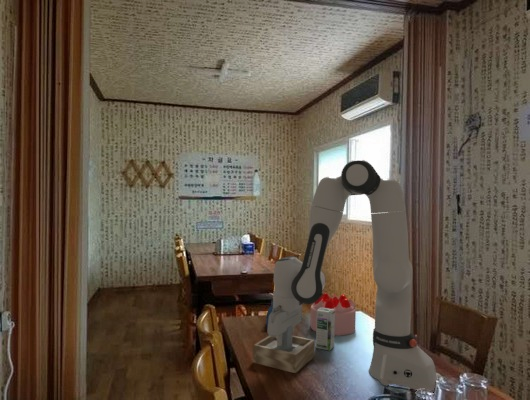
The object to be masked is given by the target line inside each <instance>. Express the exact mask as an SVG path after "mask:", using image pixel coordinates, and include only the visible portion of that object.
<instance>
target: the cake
mask: <svg viewBox="0 0 530 400" xmlns="http://www.w3.org/2000/svg"><path fill="white" fill-rule="evenodd" d="M319 308H328V309H335V331H334V337H335V336H347V335H351V334H354V332H355V331H356V318H357V317H356V308H357V304H356V303H355V302H354V301H353V300H352V298H351V297H350V298H349V299H348V298H347V296H346V295H345V294H341V295H340V296H337V294H336V293H334V296H333V297H330V295H329V294H328V293H326V292H324V293H322V295H321V297H320V298H319V300H318V301H316V302H315V303H312V304H311V306H310V316H309V317H310V321H309V322H310V324H309V325H310V329H311V330H313V331H314V332H315V333H316V326H317V310H318V309H319Z"/></svg>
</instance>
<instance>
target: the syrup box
mask: <svg viewBox="0 0 530 400" xmlns="http://www.w3.org/2000/svg"><path fill="white" fill-rule="evenodd" d="M334 331H335V309H328V308H319V309H318V310H317V326H316V332H315V333H316V334H315V338H316V339H315V349H320V350H326V351H328V352H329V351H331V350H332V349H333V348H334V347H335V336H334Z"/></svg>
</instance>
